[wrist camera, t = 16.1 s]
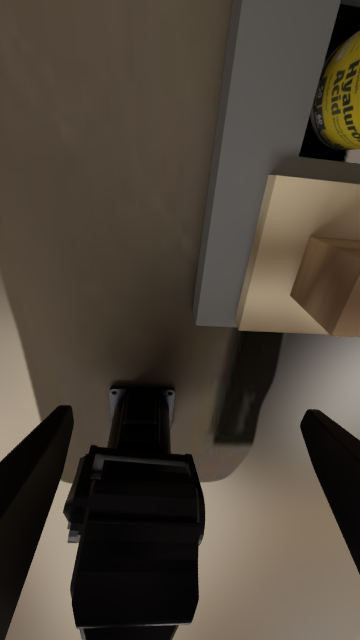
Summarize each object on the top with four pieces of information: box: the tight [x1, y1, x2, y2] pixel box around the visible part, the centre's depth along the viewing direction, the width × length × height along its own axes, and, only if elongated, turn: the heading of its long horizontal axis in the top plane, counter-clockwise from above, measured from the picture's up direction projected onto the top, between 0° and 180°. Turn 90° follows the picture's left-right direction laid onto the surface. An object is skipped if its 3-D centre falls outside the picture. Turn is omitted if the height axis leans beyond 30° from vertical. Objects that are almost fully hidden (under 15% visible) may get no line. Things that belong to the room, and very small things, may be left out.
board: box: [192, 0, 360, 327], centre depth 17 cm, size 20×16×2 cm
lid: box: [235, 175, 360, 337], centre depth 15 cm, size 10×10×6 cm
